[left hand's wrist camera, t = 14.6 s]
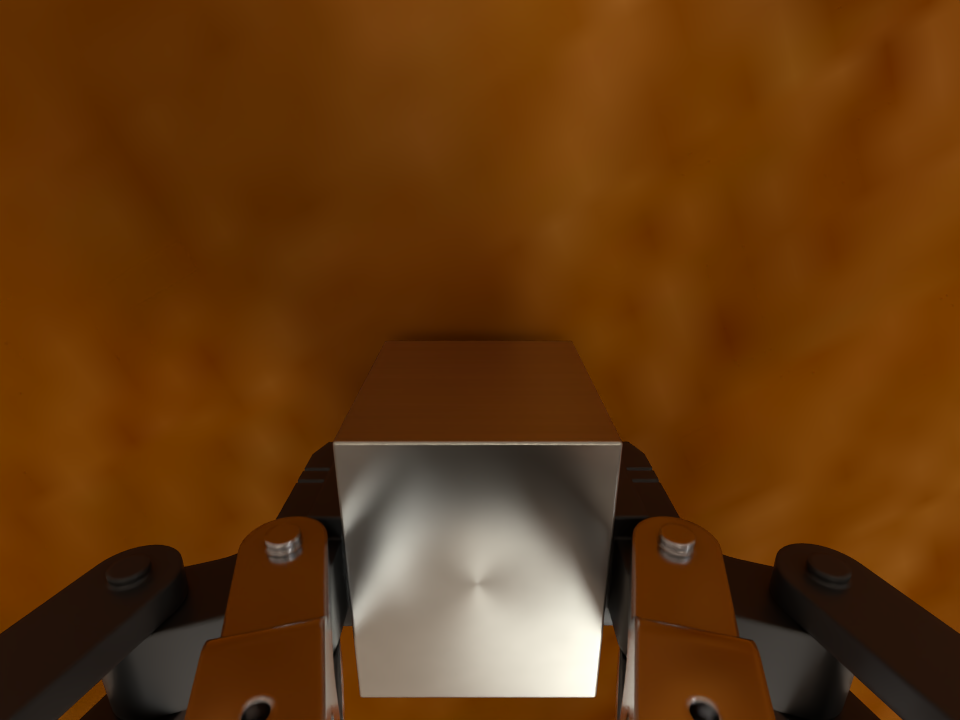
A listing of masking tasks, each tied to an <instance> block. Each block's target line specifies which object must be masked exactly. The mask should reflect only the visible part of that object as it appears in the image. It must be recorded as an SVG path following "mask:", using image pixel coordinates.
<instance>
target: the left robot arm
mask: <svg viewBox="0 0 960 720" xmlns="http://www.w3.org/2000/svg"><path fill="white" fill-rule="evenodd" d="M604 625H613V627H614V630H615V634H616V637H617V641H618V644H619V652H618V666H617V689H616V713H615V720H880V719H879V718H878V717H877V716H876V715H875V714H874V713H873V712H872V711H871V710H870V709H869V708H868V707H867V706H865V705H864V704H863V703H862V702H861V701H860V700H859V699H858V698H857V697H856V696H855V695H854V694H853V693H852V692H851V691H850V690H849V689H850V686H851V683H852V680H853V677H854V675H855V676H856V677H857V678H858V679H859V680H860V681H861V682H862V683H863V684H864V685H865V686H867V687H868V688H869V689H870V690H871V691H872V692H873V693H874V694H875V695H876V696H877V697H879V698H880V699H881V700H882V701H883V702H884V703H885V704H886V705H887V706H888V707H889V708H891V709H892V710H893V711H894V712H895V713H896V714H897V715H898V716H899V717H900V718H902V719H903V720H960V634H959V633H958V632H956V631H955V630H953V629H952V628H951V627H949V626H948V625H946V624H945V623H944V622H942V621H941V620H939V619H938V618H937V617H935V616H934V615H932V614H931V613H929V612H928V611H927V610H925V609H924V608H922V607H921V606H920V605H918V604H917V603H915V602H914V601H913V600H911V599H910V598H908V597H907V596H905V595H904V594H903V593H901V592H900V591H898V590H897V589H896V588H894V587H893V586H891V585H890V584H889V583H887V582H886V581H884V580H883V579H882V578H880V577H879V576H877V575H876V574H874V573H873V572H872V571H870V570H869V569H867V568H866V567H865V566H863V565H862V564H860V563H859V562H857V561H856V560H854V559H852V558H851V557H849V556H847V555H845V554H843V553H840V552H838V551H836V550H833V549H830V548H827V547H823V546H819V545H814V544H804V543H800V544H791V545H787V546H785V547H783V548H782V549H780V550H779V551H778V553H777V555H776V559H775V563H774V567H772V566H768V565H763V564H758V563H754V562H749V561H745V560H740V559H736V558H732V557H728V556H726V555H723V554H722V550H721V547H720V545H719V543H718V541H717V540H716V539H715V538H714V537H713V535H711V534H710V533H709V532H708V531H707V530H705V529H704V528H702V527H700V526H698V525H697V524H695V523H692V522H690V521H687V520H684V519H680V517H679V516H678V514H677V512H676V510H675V508H674V507H673V505H672V503H671V501H670V499H669V498H668V496H667V494H666V492H665V490H664V489H663V487H662V485H661V483H659V481H658V478H657V476H656V474H655V472H654V471H652V467H651V465H650V463H649V461H648V460H647V458H646V456H645V454H644V453H642V452H641V451H640V450H638V449H637V448H636V447H634V446H633V445H632V444H630V443H629V442H622V454H621V463H620V473H619V482H618V492H617V501H616V511H615V520H614V530H613V539H612V549H611V558H610V568H609V577H608V587H607V596H606V606H605V615H604ZM343 626H352V617H351V607H350V598H349V589H348V580H347V571H346V561H345V552H344V543H343V534H342V525H341V516H340V506H339V497H338V488H337V479H336V470H335V460H334V451H333V442H329V443H327V444H326V445H324V446H323V447H322V448H320V449H319V450H318V451H316V452H315V453H314V454H313V455H312V456H311V458H310V460H309V462H308V464H307V465H306V467H305V471H303V472H302V474H301V476H300V478H299V479H298V483H296V485H295V487H294V488H293V490H292V492H291V494H290V495H289V497H288V499H287V501H286V502H285V504H284V506H283V508H282V510H281V511H280V513H279V515H278V517H277V518H276V520H273V521H270V522H268V523H265V524H263V525H262V526H260V527H258V528H256V529H255V530H253V531H252V532H251V533H250V534H249V535H247V537H246V538H245V539H244V540H243V541H242V543H241V545H240V547H239V550H238V553H237V554H235V555H232V556H229V557H226V558H222V559H219V560H214V561H210V562H205V563H200V564H196V565H191V566H187V567H184V564H183V560H182V557H181V554H180V553H179V552H178V551H177V550H176V549H174V548H172V547H169V546H164V545H147V546H141V547H137V548H133V549H129V550H127V551H124V552H121V553H119V554H116V555H114V556H112V557H110V558H108V559H106V560H105V561H103V562H101V563H100V564H98V565H97V566H95V567H94V568H93V569H91V570H90V571H88V572H87V573H86V574H84V575H83V576H81V577H80V578H78V579H77V580H76V581H74V582H73V583H71V584H70V585H69V586H67V587H66V588H64V589H63V590H62V591H60V592H59V593H57V594H56V595H55V596H53V597H52V598H50V599H49V600H47V601H46V602H45V603H43V604H42V605H40V606H39V607H38V608H36V609H35V610H33V611H32V612H31V613H29V614H28V615H26V616H25V617H23V618H22V619H21V620H19V621H18V622H16V623H15V624H14V625H12V626H11V627H9V628H8V629H7V630H5V631H4V632H2V633H1V634H0V720H57V719H58V718H60V717H61V716H62V715H63V714H64V713H65V712H66V711H67V710H68V709H69V708H70V707H72V706H73V705H74V704H75V703H76V702H77V701H78V700H79V699H80V698H81V697H83V696H84V695H85V694H86V693H87V692H88V691H89V690H90V689H91V688H92V687H93V686H95V685H96V684H97V683H98V682H99V681H100V680H101V679H102V681H103V684H104V687H105V690H106V693H107V694H106V695H105V696H104V697H103V698H102V699H101V700H100V701H99V702H98V703H97V704H96V705H94V706H93V707H92V708H91V709H90V710H89V711H88V712H87V713H86V714H85V715H84V716H83V717H82V718H81V719H80V720H345V712H344V689H343V666H342V652H341V644H340V635H341V632H342V628H343Z"/></svg>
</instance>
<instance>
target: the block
mask: <svg viewBox="0 0 960 720" xmlns="http://www.w3.org/2000/svg"><path fill="white" fill-rule="evenodd" d="M333 451H334V460H335V470H336V479H337V488H338V497H339V506H340V516H341V525H342V534H343V543H344V552H345V561H346V571H347V580H348V589H349V598H350V607H351V617H352V626H353V635H354V644H355V653H356V662H357V672H358V681H359V690H360V696H361V697H579V698H593V697H595V696H596V691H597V681H598V672H599V662H600V653H601V643H602V634H603V625H604V615H605V606H606V596H607V587H608V577H609V568H610V558H611V549H612V539H613V530H614V520H615V511H616V501H617V492H618V482H619V473H620V463H621V454H622V441H621V439H620V437H619V435H618V433H617V431H616V429H615V427H614V425H613V423H612V421H611V419H610V417H609V415H608V413H607V411H606V409H605V407H604V405H603V403H602V401H601V399H600V397H599V395H598V393H597V391H596V389H595V387H594V385H593V383H592V381H591V379H590V377H589V375H588V373H587V371H586V369H585V367H584V365H583V363H582V361H581V359H580V357H579V355H578V353H577V351H576V349H575V347H574V345H573V343H572V341H385V343H384V345H383V347H382V349H381V351H380V353H379V355H378V357H377V358H376V360H375V362H374V364H373V366H372V368H371V370H370V372H369V374H368V376H367V378H366V380H365V382H364V384H363V385H362V387H361V389H360V391H359V393H358V395H357V397H356V399H355V401H354V403H353V405H352V407H351V409H350V410H349V412H348V414H347V416H346V418H345V420H344V422H343V424H342V426H341V428H340V430H339V432H338V434H337V435H336V437H335V439H334V441H333Z"/></svg>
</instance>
